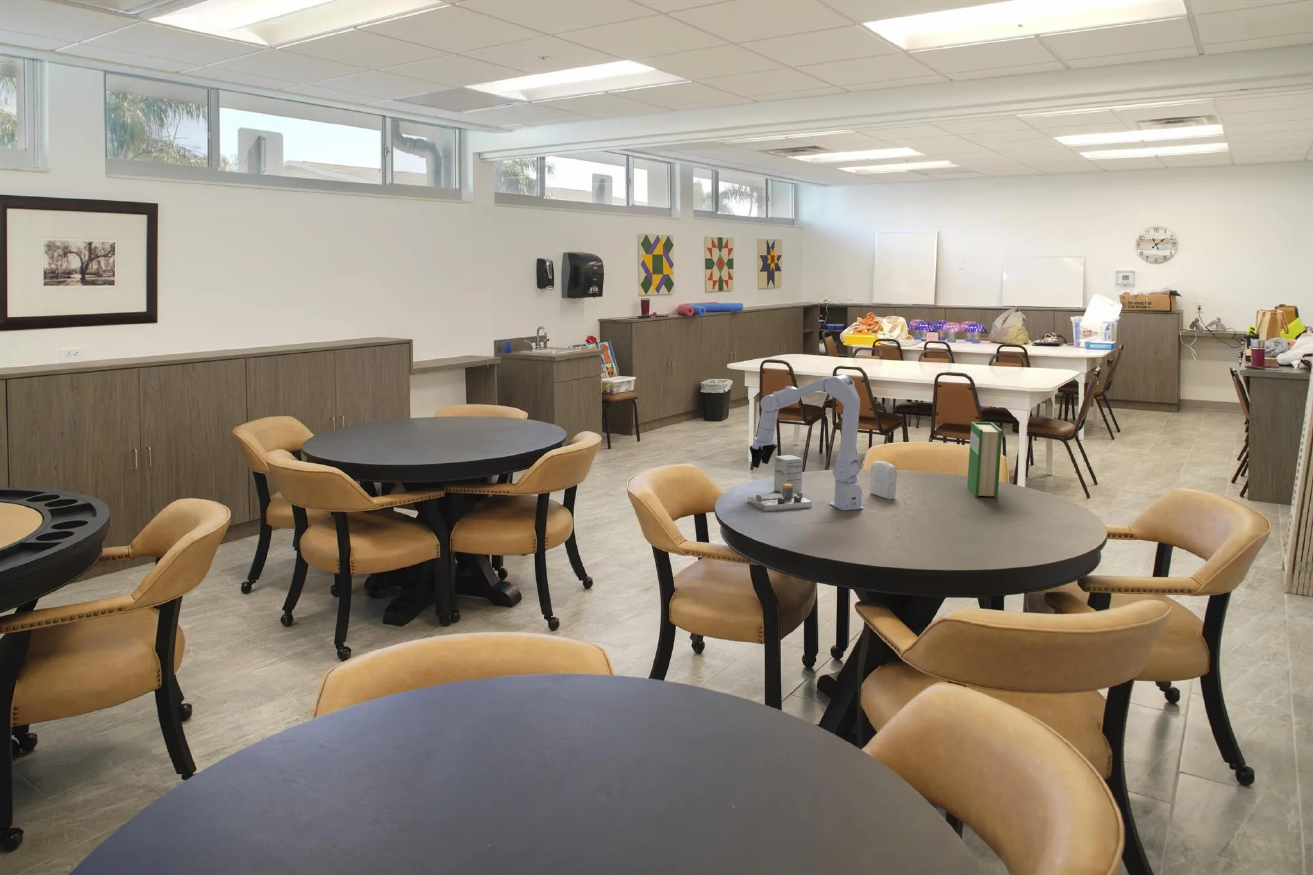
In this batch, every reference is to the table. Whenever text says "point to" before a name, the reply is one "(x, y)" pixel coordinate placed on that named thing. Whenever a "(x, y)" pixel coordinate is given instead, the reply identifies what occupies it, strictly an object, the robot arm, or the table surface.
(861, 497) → the robot arm
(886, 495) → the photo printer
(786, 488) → the fader tab
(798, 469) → the supplement box
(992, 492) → the hardback book
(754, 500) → the console
